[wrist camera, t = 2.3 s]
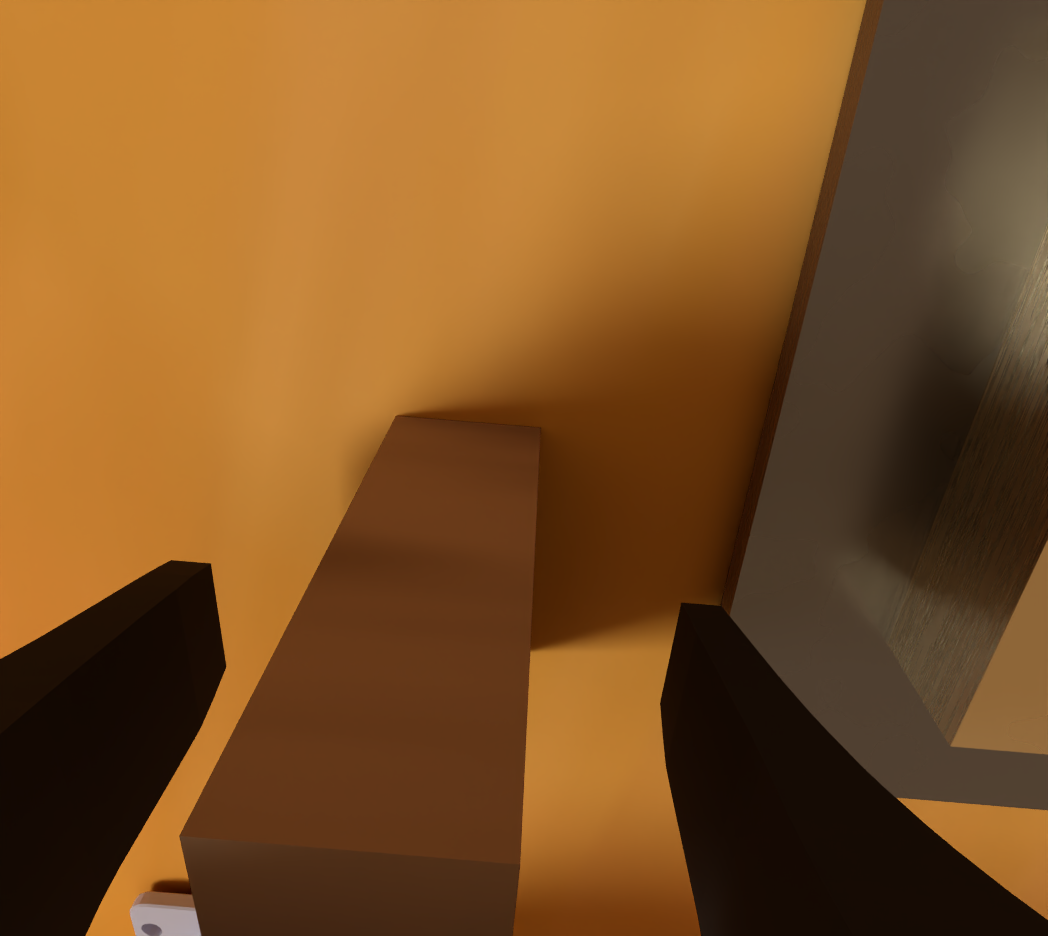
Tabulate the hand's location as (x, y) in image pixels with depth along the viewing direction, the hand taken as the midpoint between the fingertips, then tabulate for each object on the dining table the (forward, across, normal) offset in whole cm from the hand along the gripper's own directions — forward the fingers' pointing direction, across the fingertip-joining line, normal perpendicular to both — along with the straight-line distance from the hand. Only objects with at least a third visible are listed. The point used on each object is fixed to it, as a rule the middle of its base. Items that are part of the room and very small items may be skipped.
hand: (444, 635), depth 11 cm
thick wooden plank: (+3, 0, 0) cm, 3 cm away
